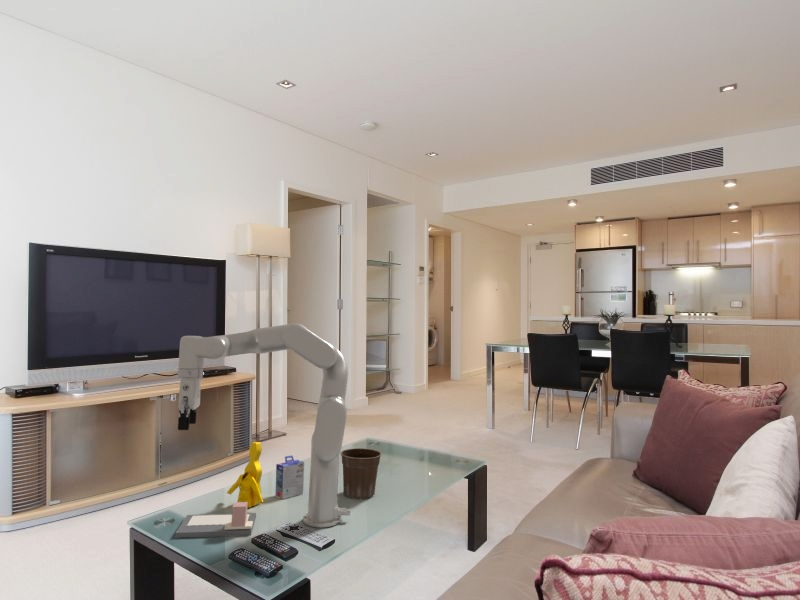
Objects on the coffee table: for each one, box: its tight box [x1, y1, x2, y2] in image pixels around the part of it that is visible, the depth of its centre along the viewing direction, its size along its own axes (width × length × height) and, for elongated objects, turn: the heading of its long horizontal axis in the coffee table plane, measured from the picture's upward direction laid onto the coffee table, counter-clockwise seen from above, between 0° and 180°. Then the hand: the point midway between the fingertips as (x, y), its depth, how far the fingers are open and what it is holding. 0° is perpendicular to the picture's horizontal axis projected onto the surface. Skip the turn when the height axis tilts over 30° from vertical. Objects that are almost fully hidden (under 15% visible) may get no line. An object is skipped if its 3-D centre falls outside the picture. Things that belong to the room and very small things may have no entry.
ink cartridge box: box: [275, 455, 305, 500], centre depth 189 cm, size 10×6×14 cm, turn 137°
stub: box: [224, 501, 253, 530], centre depth 153 cm, size 8×4×7 cm, turn 100°
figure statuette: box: [226, 441, 264, 509], centre depth 177 cm, size 18×8×22 cm, turn 60°
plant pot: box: [339, 447, 382, 500], centre depth 192 cm, size 16×16×16 cm
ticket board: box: [174, 512, 257, 539], centre depth 156 cm, size 22×14×2 cm, turn 100°
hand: (187, 426), depth 159 cm, fingers open, 9 cm apart
